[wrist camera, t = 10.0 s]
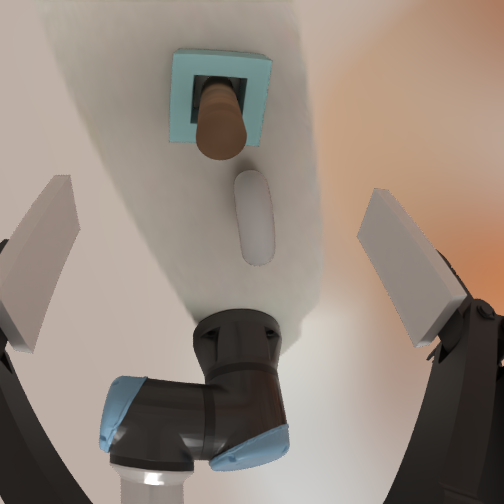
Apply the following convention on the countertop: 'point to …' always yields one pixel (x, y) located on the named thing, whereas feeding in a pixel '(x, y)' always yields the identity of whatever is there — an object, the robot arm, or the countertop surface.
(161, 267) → the countertop surface
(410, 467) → the robot arm
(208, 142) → the thick dowel
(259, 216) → the grey rounded flat slab
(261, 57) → the teal socket block
